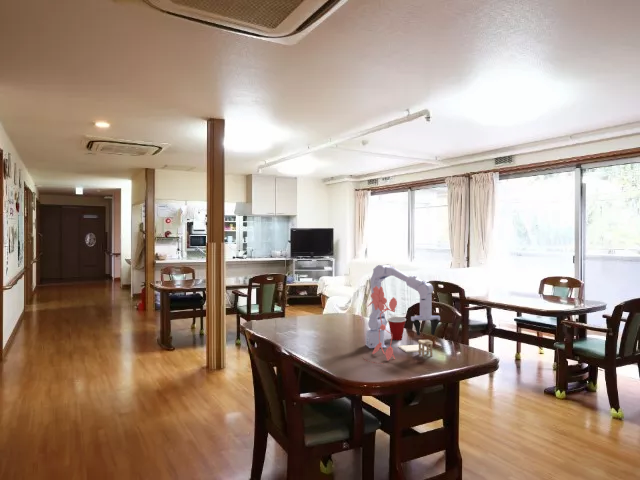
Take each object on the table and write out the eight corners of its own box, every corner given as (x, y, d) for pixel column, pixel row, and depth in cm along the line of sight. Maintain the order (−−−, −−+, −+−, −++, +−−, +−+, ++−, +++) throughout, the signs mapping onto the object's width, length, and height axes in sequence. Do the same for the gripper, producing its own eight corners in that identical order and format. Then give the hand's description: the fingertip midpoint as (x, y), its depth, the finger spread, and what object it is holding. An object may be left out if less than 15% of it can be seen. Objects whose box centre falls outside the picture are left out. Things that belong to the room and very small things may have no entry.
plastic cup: (384, 340, 249) (384, 319, 249) (390, 336, 258) (390, 316, 258) (403, 342, 244) (403, 320, 244) (408, 338, 253) (408, 317, 253)
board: (406, 352, 222) (406, 350, 222) (398, 347, 233) (398, 345, 233) (430, 351, 224) (430, 349, 224) (421, 346, 235) (421, 344, 235)
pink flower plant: (377, 350, 226) (376, 282, 226) (406, 363, 203) (405, 287, 202) (351, 353, 220) (349, 284, 220) (378, 367, 197) (376, 290, 196)
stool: (422, 356, 214) (422, 342, 214) (418, 354, 219) (418, 340, 219) (432, 356, 215) (432, 342, 215) (428, 353, 220) (428, 339, 220)
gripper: (415, 309, 212) (414, 337, 212) (442, 308, 214) (442, 336, 214) (409, 306, 219) (409, 334, 219) (436, 306, 221) (436, 333, 221)
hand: (425, 334), depth 217 cm, fingers open, 7 cm apart
